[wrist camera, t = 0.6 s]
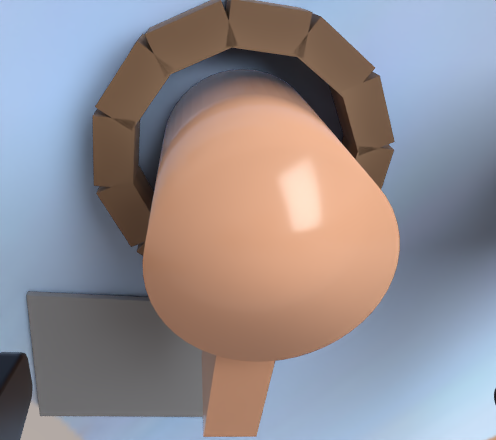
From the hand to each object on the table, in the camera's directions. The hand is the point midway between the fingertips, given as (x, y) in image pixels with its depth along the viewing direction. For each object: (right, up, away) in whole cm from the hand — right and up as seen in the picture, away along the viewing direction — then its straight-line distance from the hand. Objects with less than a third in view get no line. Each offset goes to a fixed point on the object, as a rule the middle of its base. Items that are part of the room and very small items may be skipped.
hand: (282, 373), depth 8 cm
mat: (-6, -5, +17) cm, 19 cm away
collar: (-1, +6, +11) cm, 13 cm away
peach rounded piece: (-1, +4, +12) cm, 13 cm away
